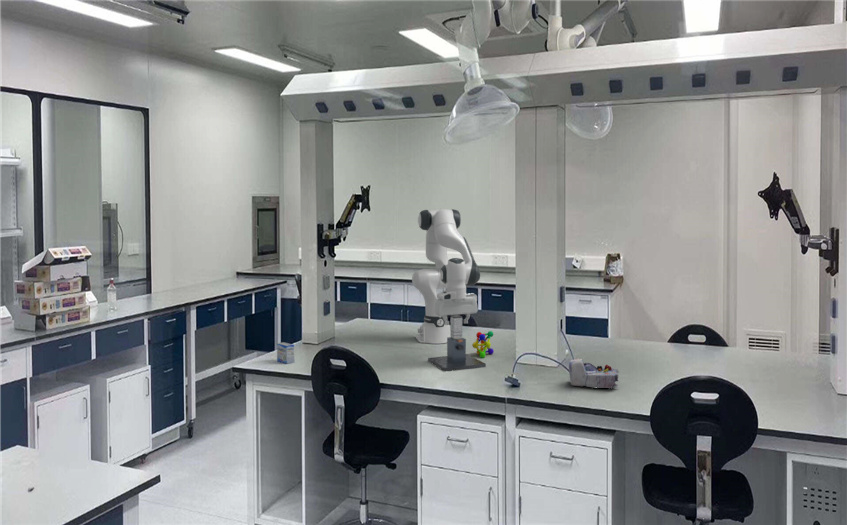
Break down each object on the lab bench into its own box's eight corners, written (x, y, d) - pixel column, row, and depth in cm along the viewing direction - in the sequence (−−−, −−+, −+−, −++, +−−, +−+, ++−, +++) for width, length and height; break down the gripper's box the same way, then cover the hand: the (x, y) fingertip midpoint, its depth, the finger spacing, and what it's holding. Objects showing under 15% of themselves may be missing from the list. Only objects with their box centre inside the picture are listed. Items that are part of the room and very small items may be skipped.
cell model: (567, 355, 276) (617, 357, 273) (566, 380, 277) (616, 383, 274) (570, 362, 263) (622, 365, 260) (569, 389, 264) (620, 392, 261)
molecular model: (484, 358, 314) (484, 334, 313) (471, 356, 318) (471, 333, 317) (495, 354, 323) (495, 331, 323) (482, 352, 327) (483, 329, 327)
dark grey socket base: (428, 361, 310) (427, 335, 309) (466, 357, 318) (466, 332, 316) (445, 371, 292) (445, 344, 290) (485, 366, 299) (485, 340, 298)
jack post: (450, 351, 305) (450, 315, 304) (458, 350, 307) (458, 315, 305) (454, 353, 301) (454, 317, 300) (462, 352, 303) (462, 316, 301)
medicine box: (277, 361, 311) (276, 343, 310) (284, 359, 314) (284, 341, 313) (286, 364, 305) (286, 345, 304) (294, 362, 308) (294, 344, 308)
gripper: (473, 291, 308) (473, 321, 310) (433, 294, 301) (433, 324, 302) (480, 293, 302) (479, 323, 304) (438, 296, 295) (438, 327, 296)
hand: (456, 324), depth 303 cm, fingers open, 8 cm apart
